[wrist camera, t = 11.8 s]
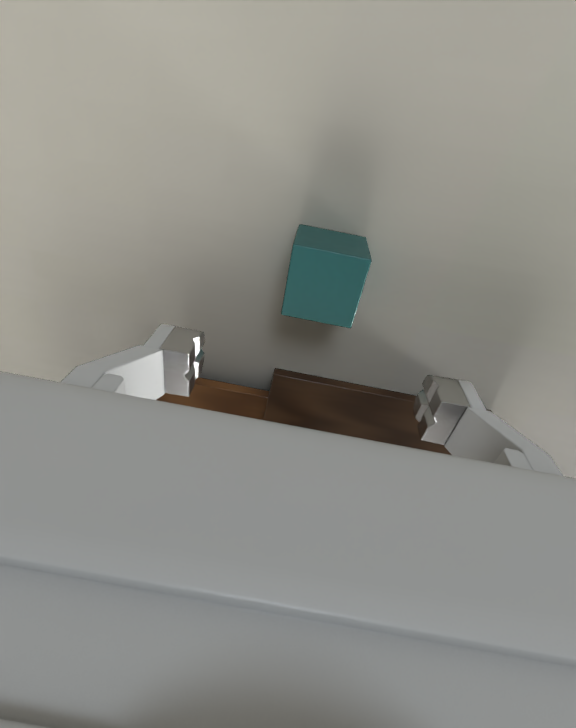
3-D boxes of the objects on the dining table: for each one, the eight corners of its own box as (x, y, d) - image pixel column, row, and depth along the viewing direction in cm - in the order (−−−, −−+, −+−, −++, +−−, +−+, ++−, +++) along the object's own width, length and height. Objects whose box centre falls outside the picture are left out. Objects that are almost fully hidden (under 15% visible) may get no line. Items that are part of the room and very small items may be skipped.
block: (299, 223, 21) (293, 244, 18) (366, 237, 21) (372, 259, 18) (288, 287, 24) (280, 315, 20) (348, 298, 24) (351, 328, 20)
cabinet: (256, 473, 35) (236, 566, 28) (274, 367, 27) (254, 456, 20) (427, 506, 35) (451, 607, 28) (491, 410, 28) (545, 512, 20)
